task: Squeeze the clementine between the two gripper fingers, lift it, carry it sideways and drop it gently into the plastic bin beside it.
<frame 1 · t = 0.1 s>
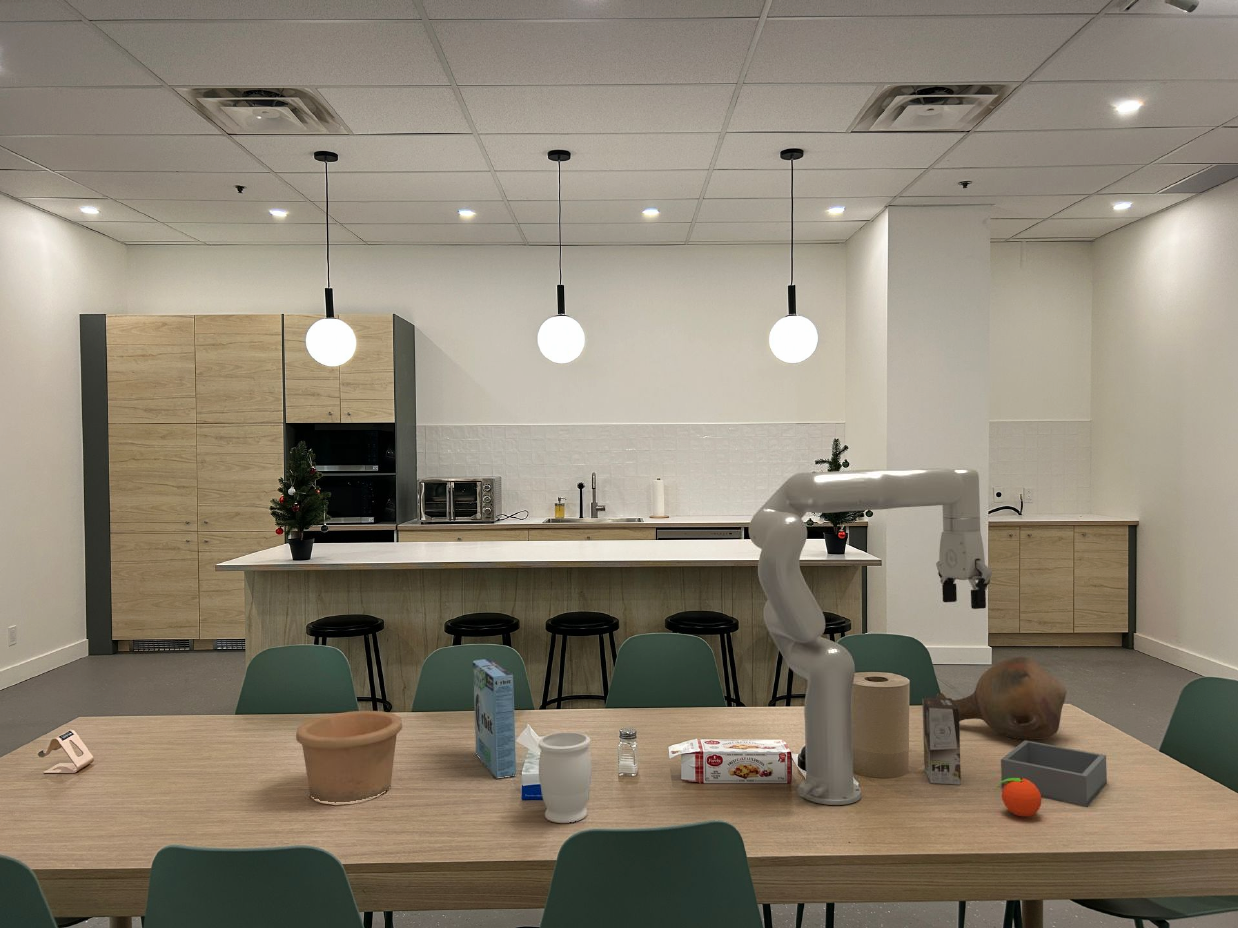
hand: (963, 604, 183), 37 cm above the table, fingers open, 9 cm apart
jar: (566, 816, 168), on the table
gum box: (494, 765, 198), on the table
clementine: (1018, 815, 163), on the table
coffee box: (942, 777, 184), on the table
bin: (1054, 785, 177), on the table
jug: (1000, 735, 212), on the table
pottery: (351, 791, 184), on the table
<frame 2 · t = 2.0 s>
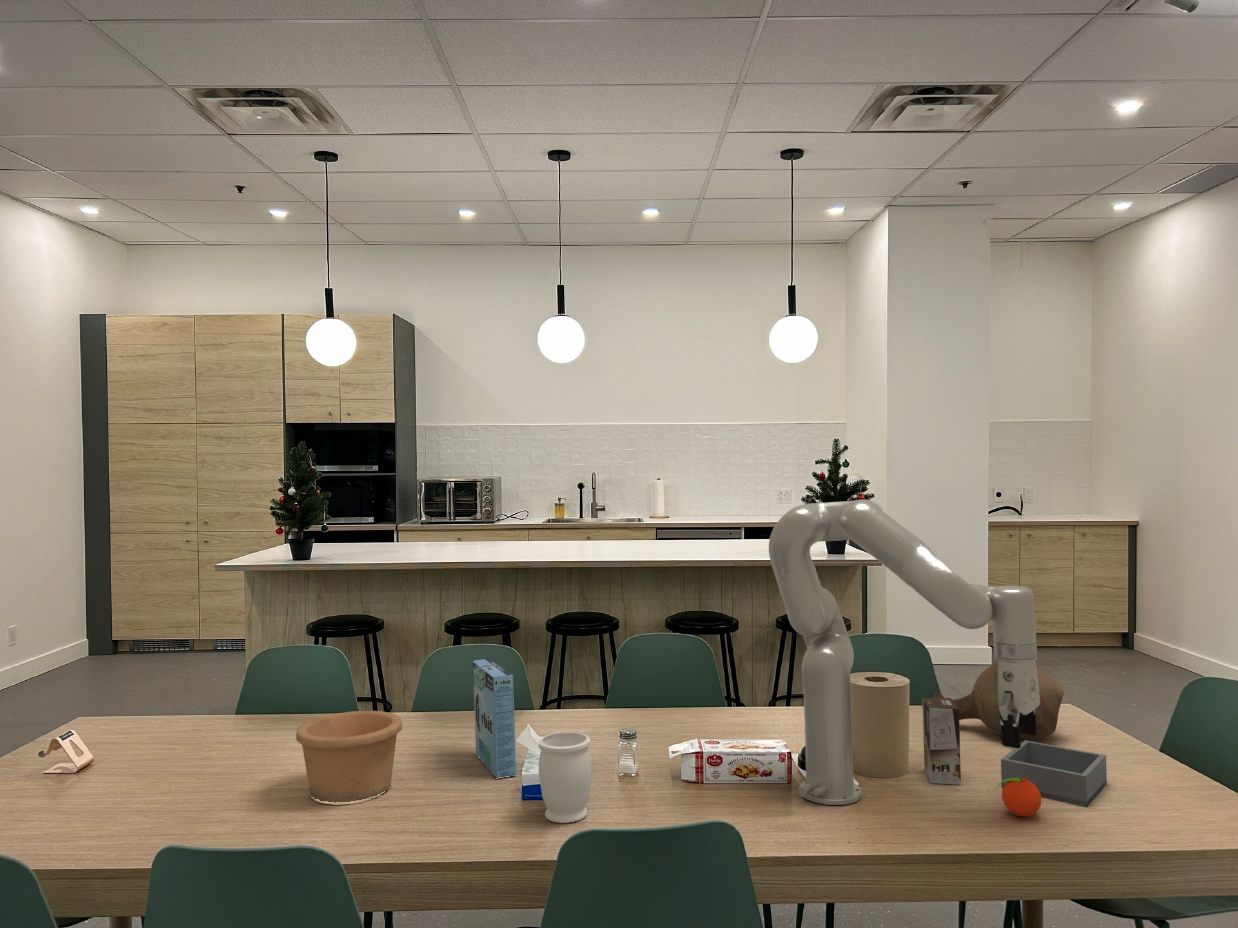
hand: (1019, 740, 163), 14 cm above the table, fingers open, 9 cm apart
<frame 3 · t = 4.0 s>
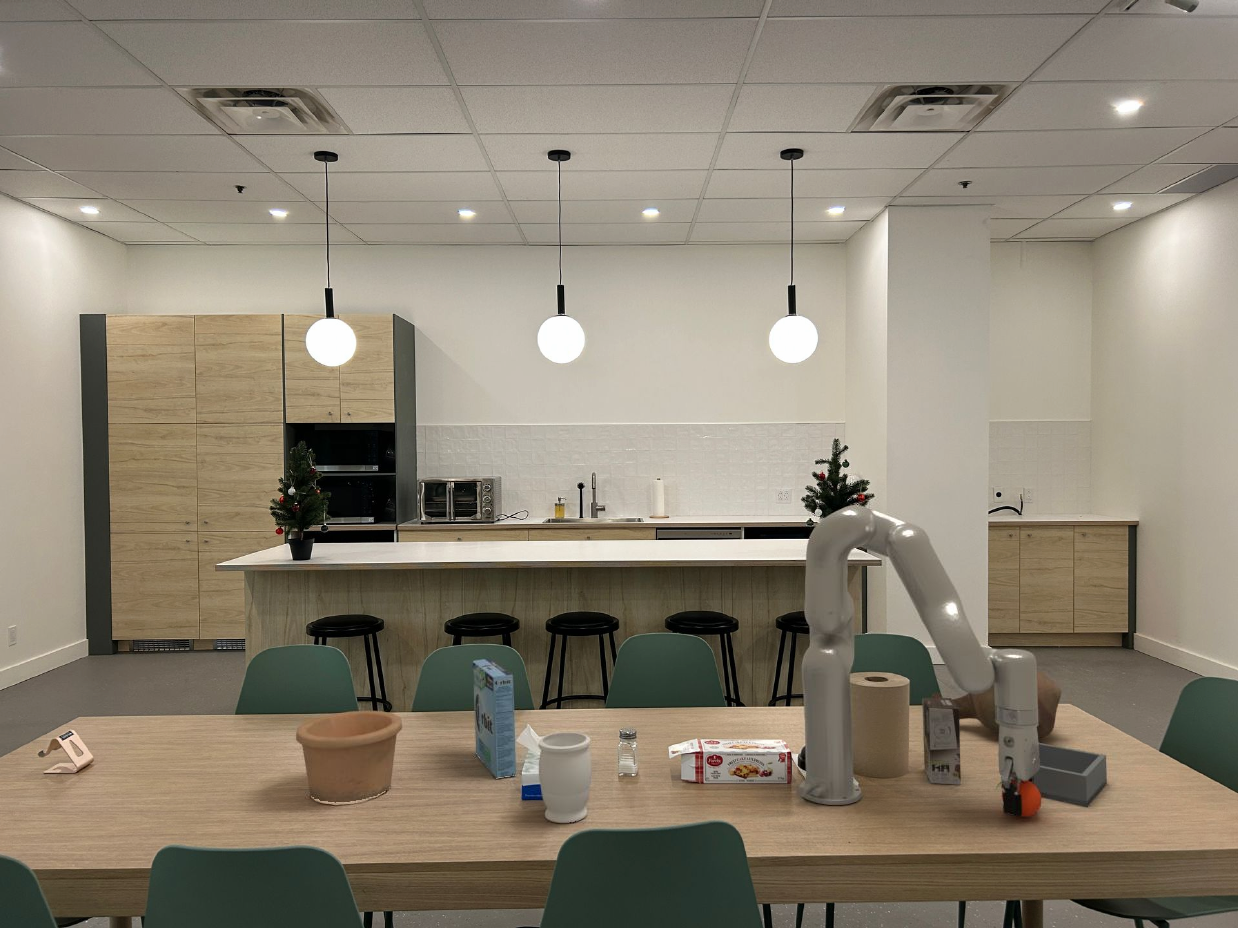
hand: (1019, 807, 163), 1 cm above the table, fingers closed on clementine, 7 cm apart
clementine: (1018, 815, 163), on the table, touching gripper
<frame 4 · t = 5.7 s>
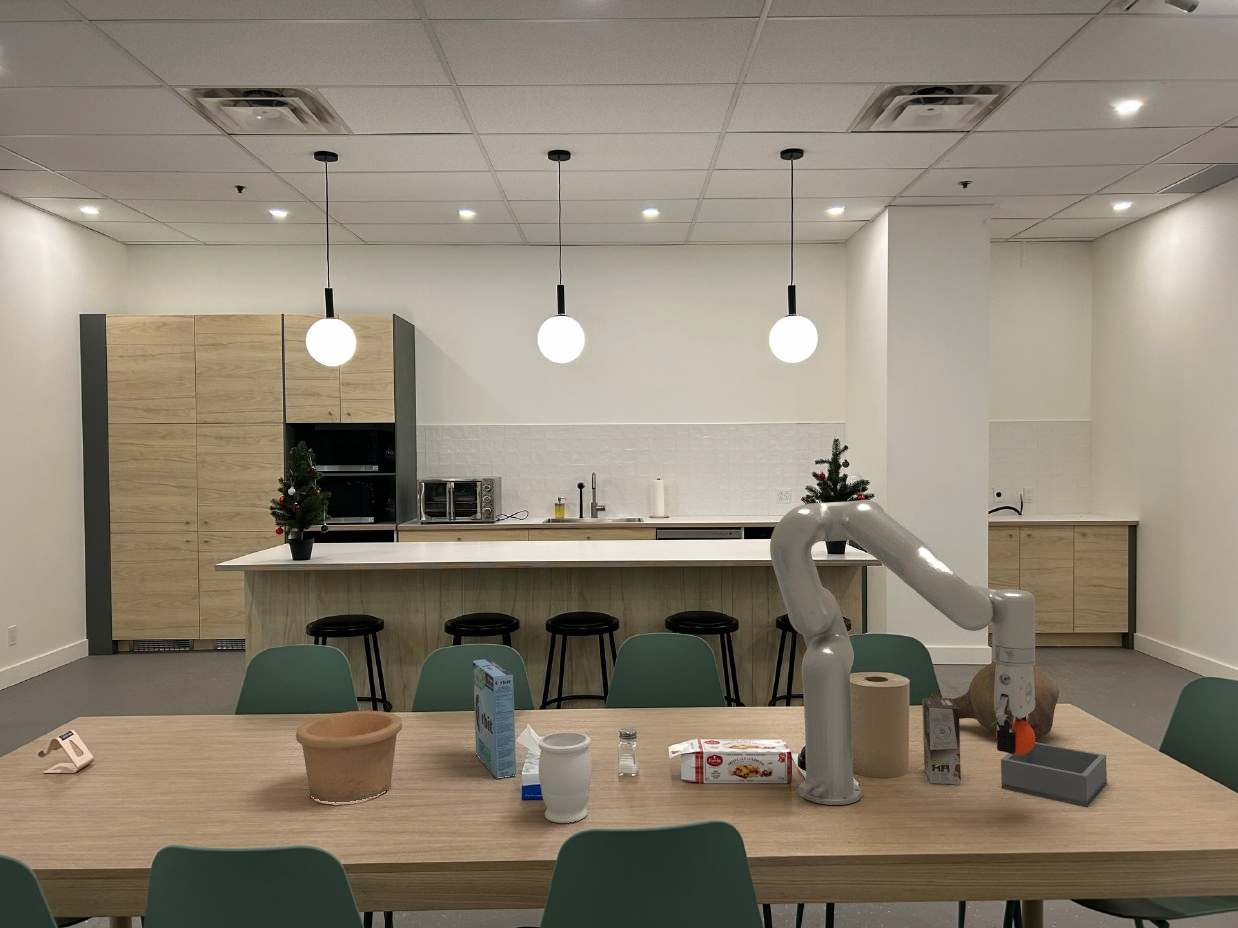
hand: (1012, 746, 163), 13 cm above the table, fingers closed on clementine, 7 cm apart
clementine: (1012, 754, 163), point 11 cm above the table, touching gripper
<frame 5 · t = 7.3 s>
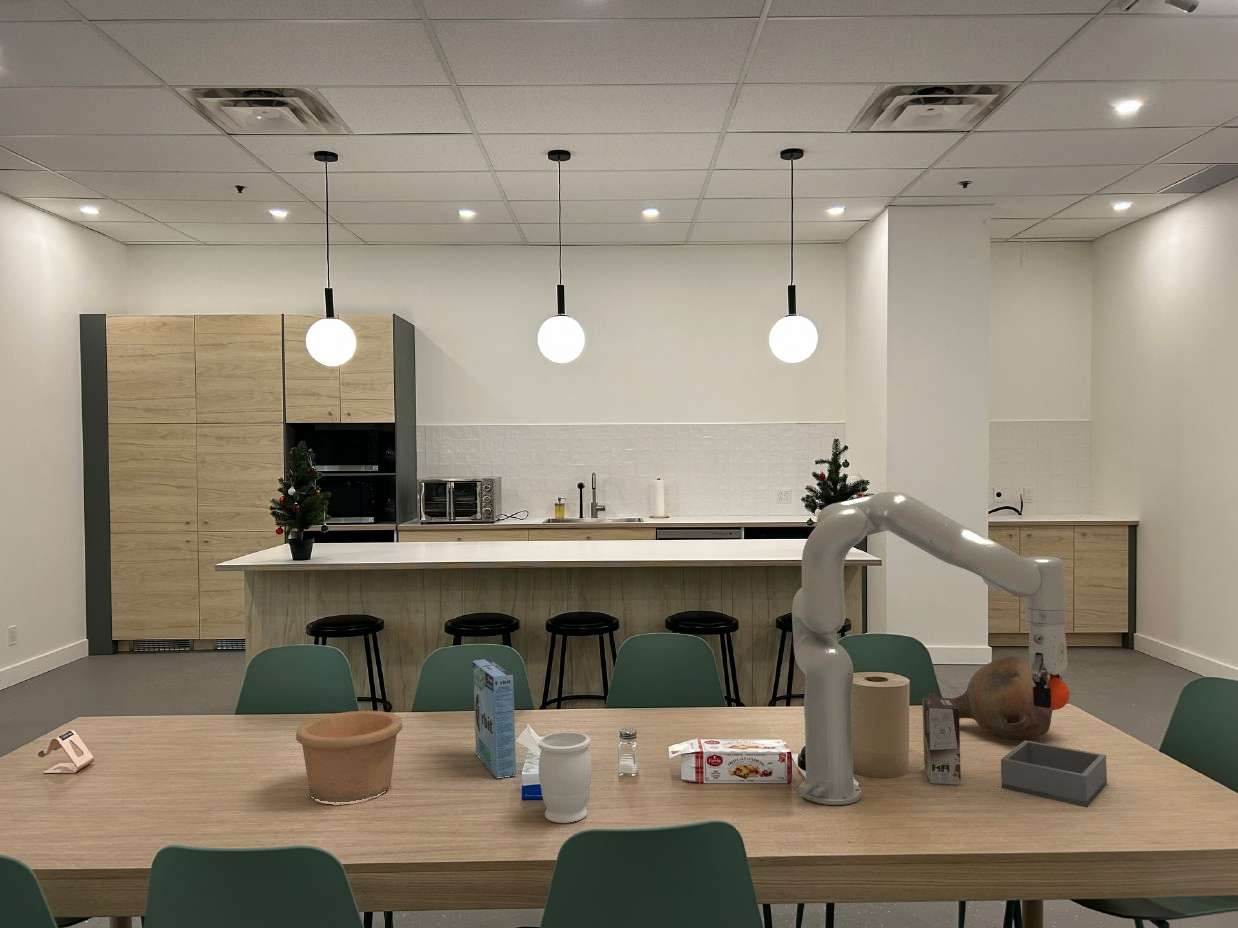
hand: (1048, 702, 176), 18 cm above the table, fingers closed on clementine, 7 cm apart
clementine: (1048, 710, 175), point 16 cm above the table, touching gripper
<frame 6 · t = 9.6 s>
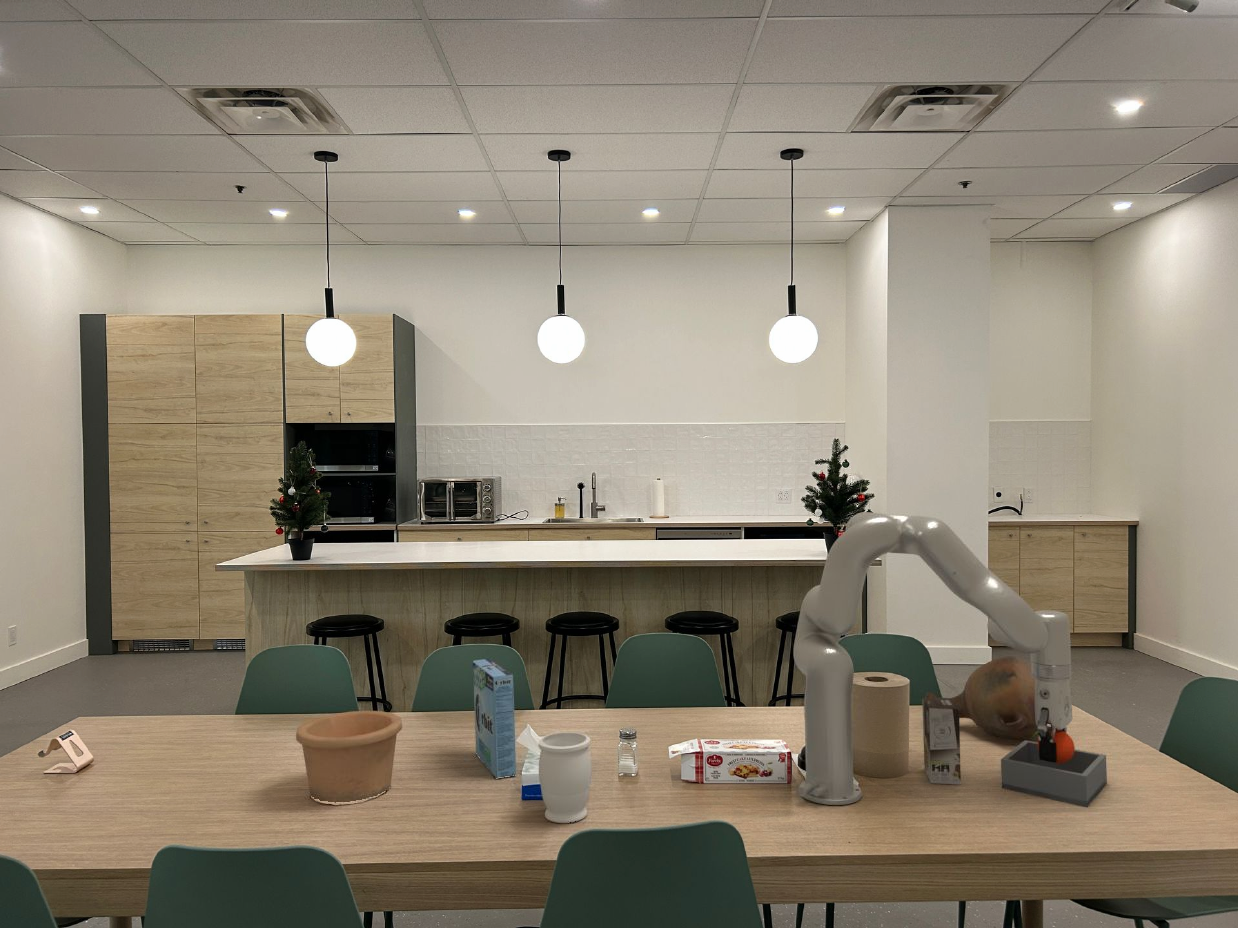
hand: (1053, 755, 177), 6 cm above the table, fingers closed on clementine, 7 cm apart
clementine: (1053, 763, 177), point 5 cm above the table, touching gripper
when the fingers open (5 cm above the table, at t = 10.9 s): clementine drops 3 cm, resting on bin.
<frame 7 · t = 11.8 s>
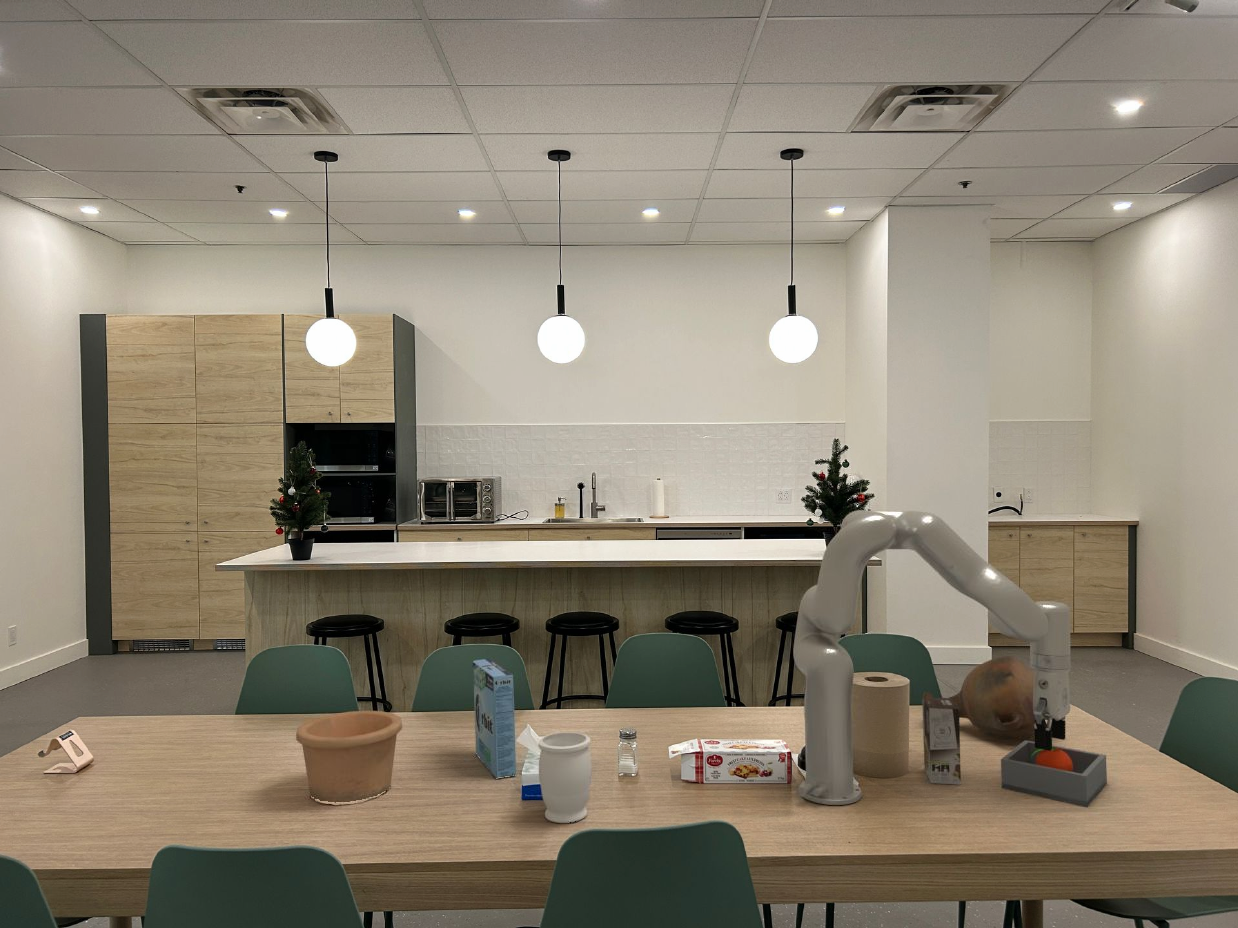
hand: (1050, 743, 177), 9 cm above the table, fingers open, 9 cm apart
clementine: (1052, 782, 177), point 1 cm above the table, touching bin
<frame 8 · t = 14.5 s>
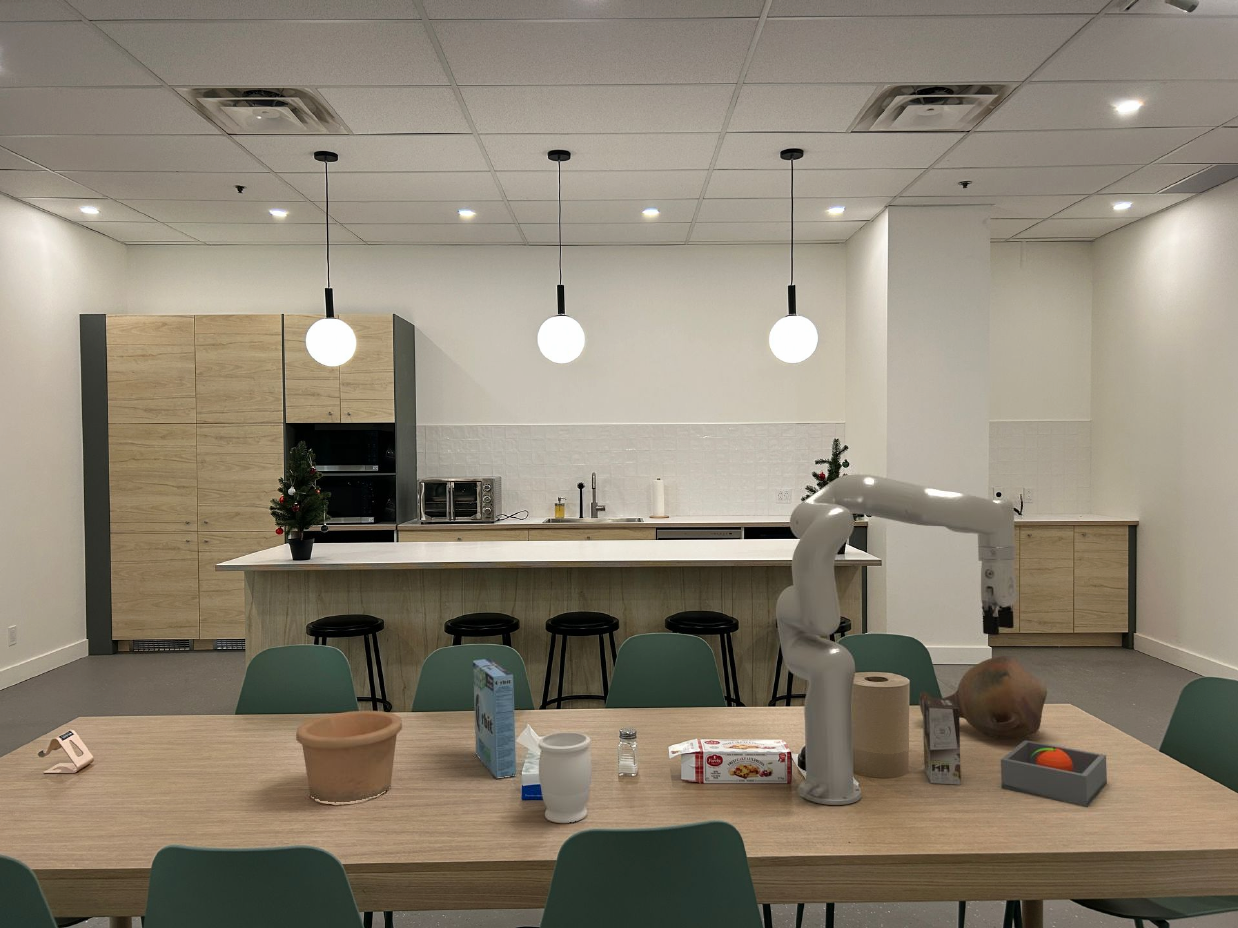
hand: (998, 630, 189), 30 cm above the table, fingers open, 9 cm apart
at the end: clementine inside the target area on the bin (0.8 cm from its centre), point 0.8 cm above the bin's base; the gripper is holding nothing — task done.
